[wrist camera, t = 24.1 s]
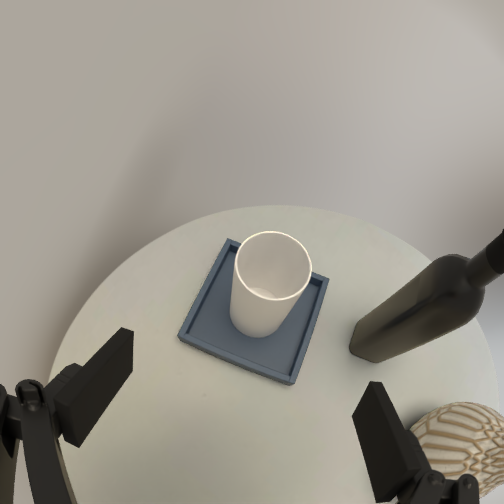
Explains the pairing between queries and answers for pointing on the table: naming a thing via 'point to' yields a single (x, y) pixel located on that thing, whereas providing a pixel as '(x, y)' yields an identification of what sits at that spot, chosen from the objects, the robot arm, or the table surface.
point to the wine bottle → (429, 304)
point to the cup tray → (244, 347)
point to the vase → (464, 442)
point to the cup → (267, 282)
